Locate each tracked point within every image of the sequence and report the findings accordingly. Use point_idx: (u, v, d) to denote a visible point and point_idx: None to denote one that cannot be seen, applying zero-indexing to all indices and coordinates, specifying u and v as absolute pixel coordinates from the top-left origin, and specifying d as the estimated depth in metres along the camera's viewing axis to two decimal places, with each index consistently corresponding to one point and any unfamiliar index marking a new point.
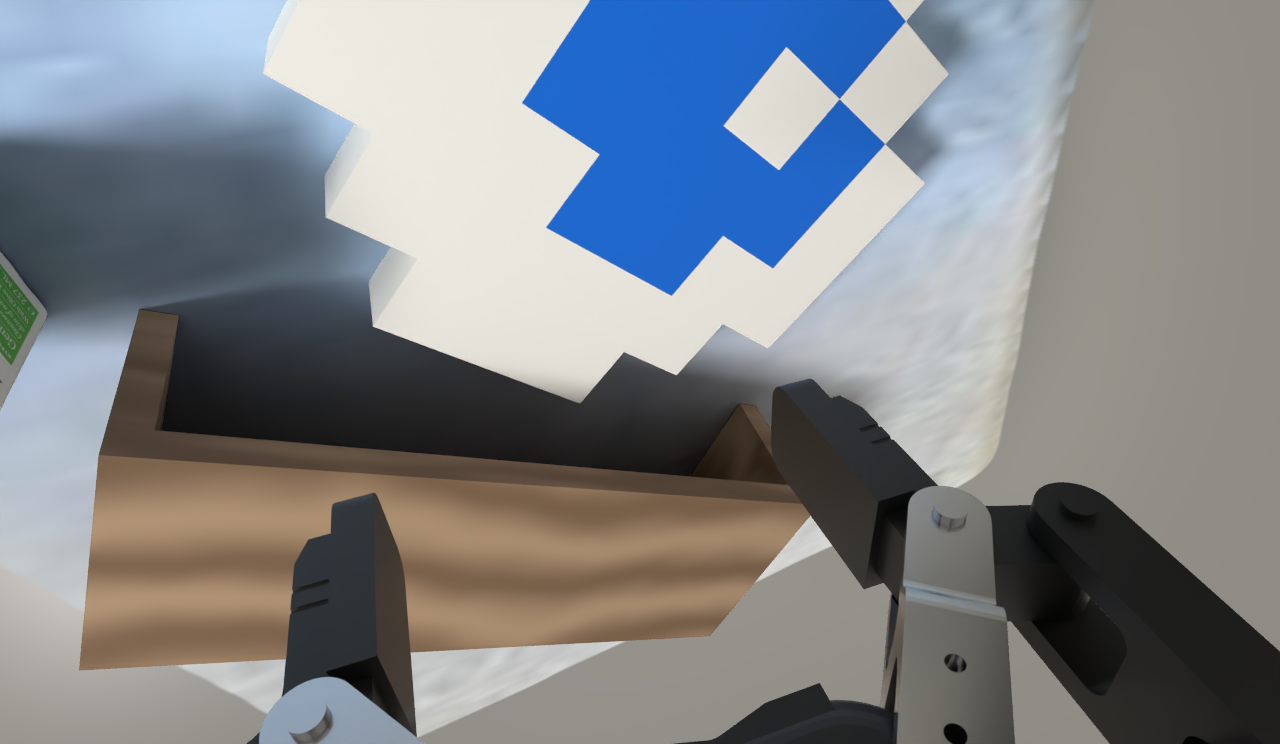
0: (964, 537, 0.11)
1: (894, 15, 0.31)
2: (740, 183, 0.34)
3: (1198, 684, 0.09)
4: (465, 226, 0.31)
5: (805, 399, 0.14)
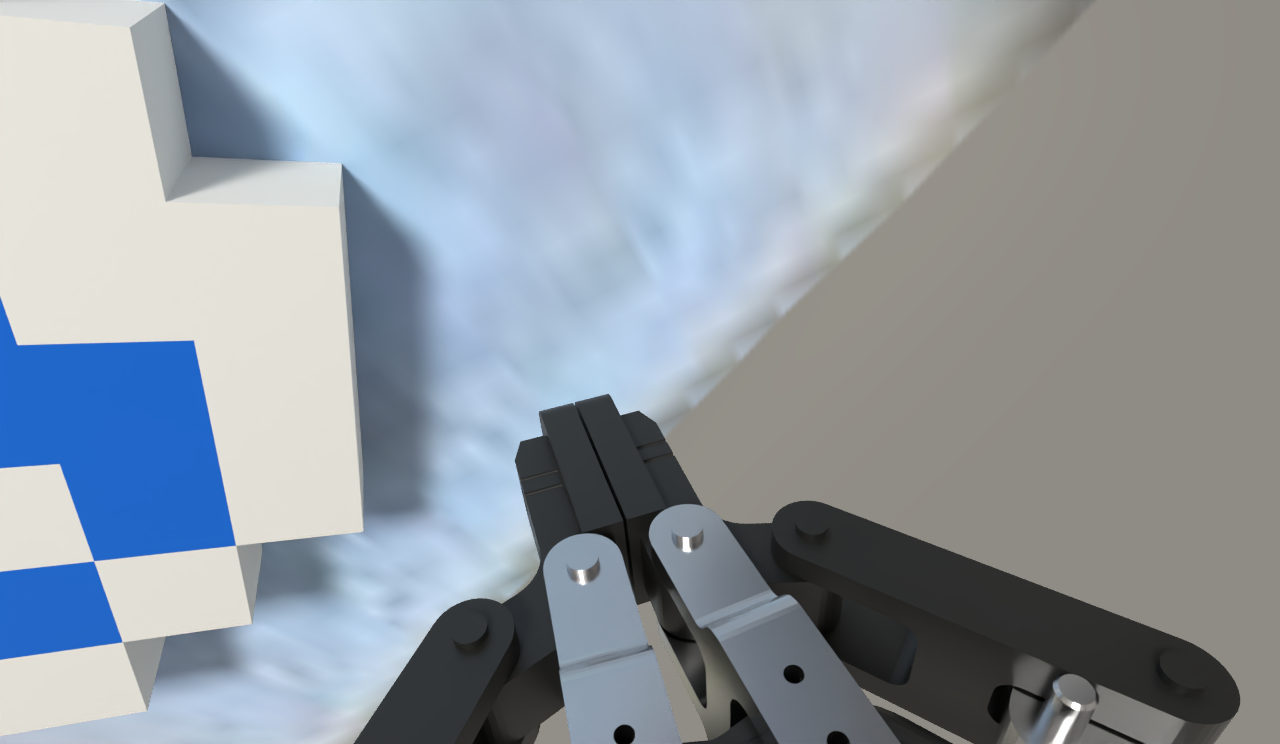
0: (692, 557, 0.11)
1: (226, 531, 0.24)
2: None
3: (991, 643, 0.10)
4: None
5: (594, 415, 0.14)
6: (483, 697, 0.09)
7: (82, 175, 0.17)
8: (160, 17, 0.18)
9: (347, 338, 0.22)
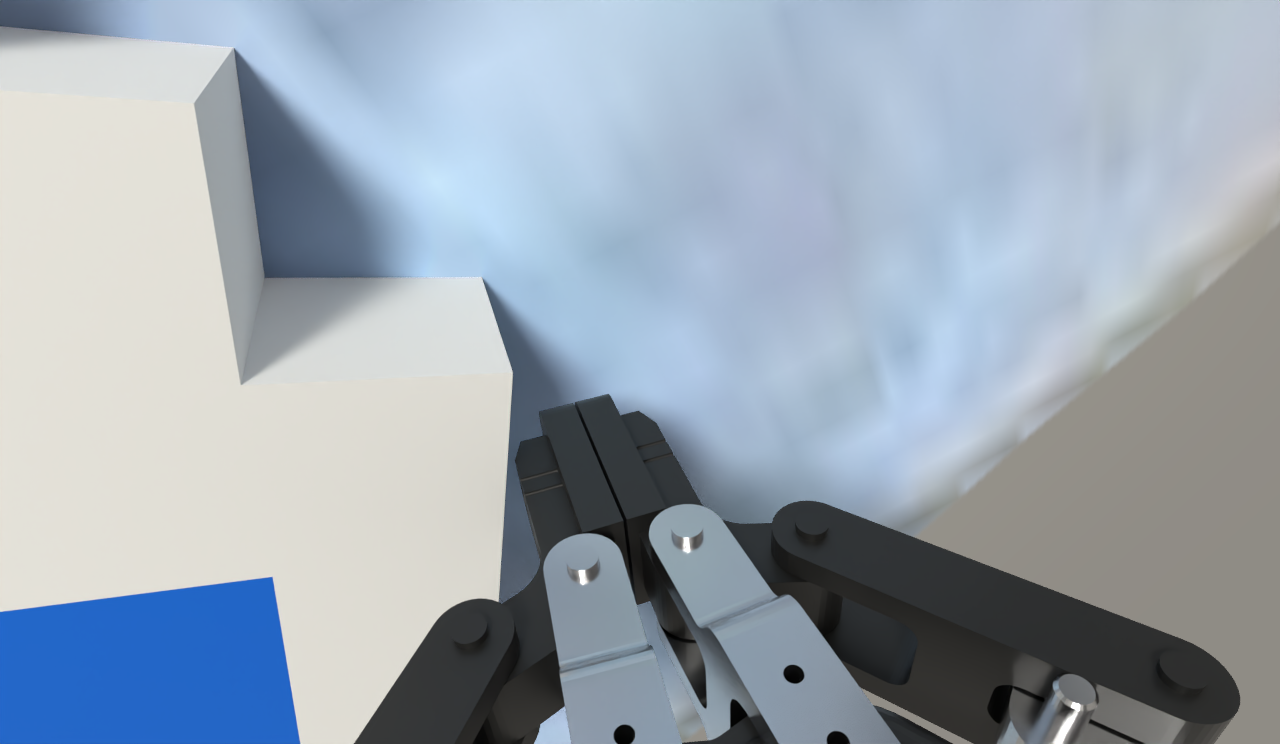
0: (692, 556, 0.11)
1: None
2: None
3: (991, 643, 0.10)
4: None
5: (594, 415, 0.14)
6: (483, 697, 0.09)
7: (100, 354, 0.10)
8: (229, 72, 0.11)
9: (499, 549, 0.14)
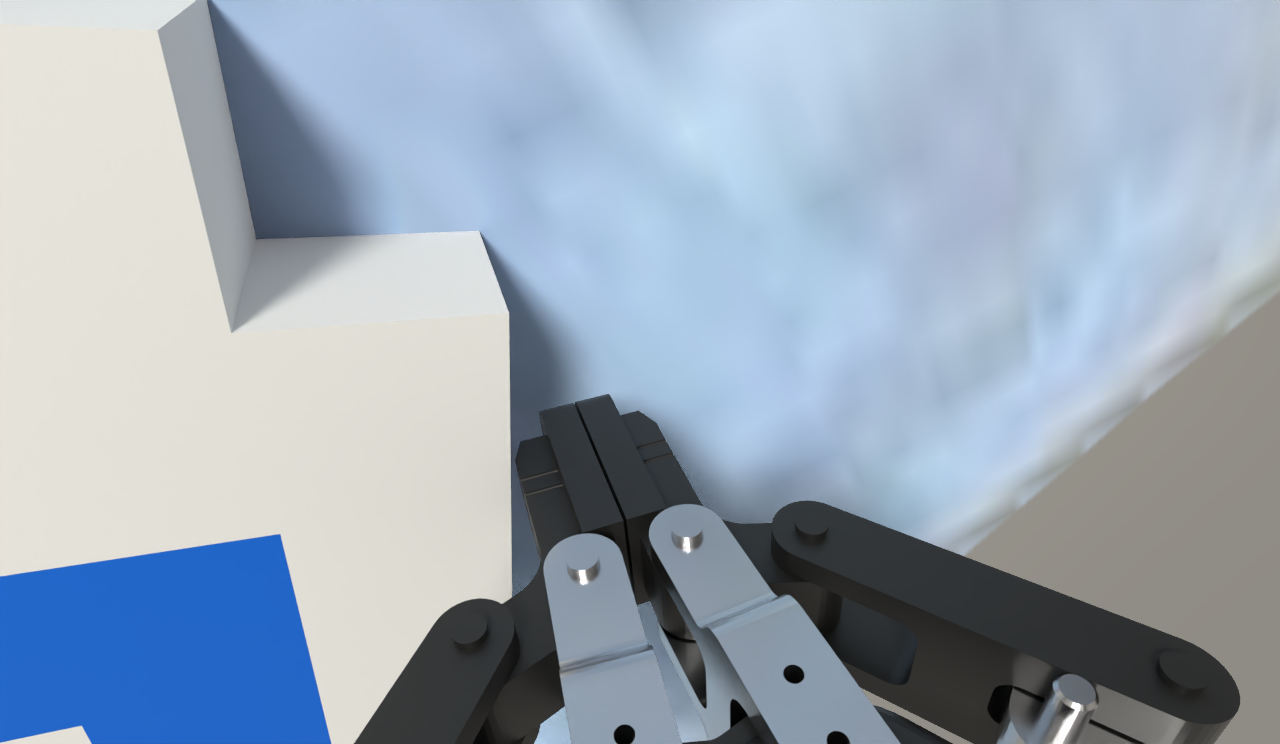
0: (692, 556, 0.11)
1: None
2: None
3: (990, 643, 0.10)
4: None
5: (594, 415, 0.14)
6: (483, 697, 0.09)
7: (85, 303, 0.10)
8: (203, 15, 0.11)
9: (509, 501, 0.14)
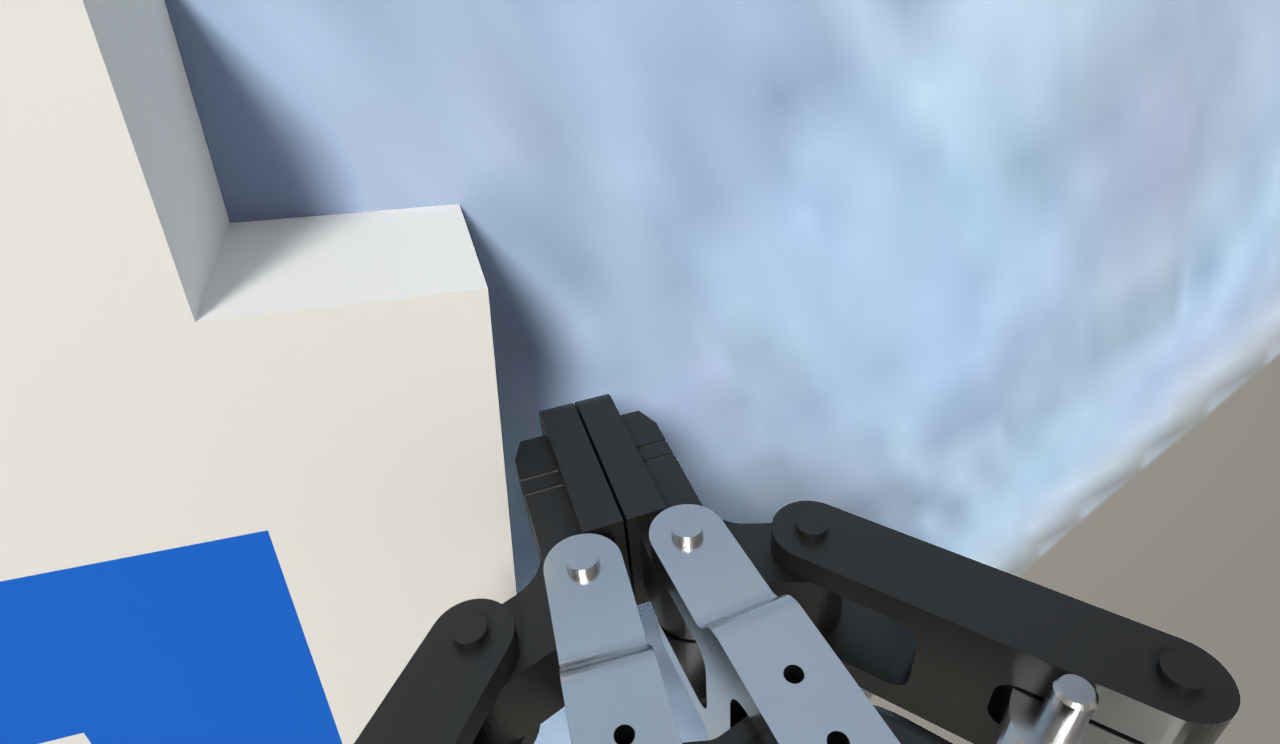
0: (692, 557, 0.11)
1: None
2: None
3: (991, 643, 0.10)
4: None
5: (594, 415, 0.14)
6: (483, 697, 0.09)
7: (39, 297, 0.09)
8: None
9: (504, 487, 0.13)
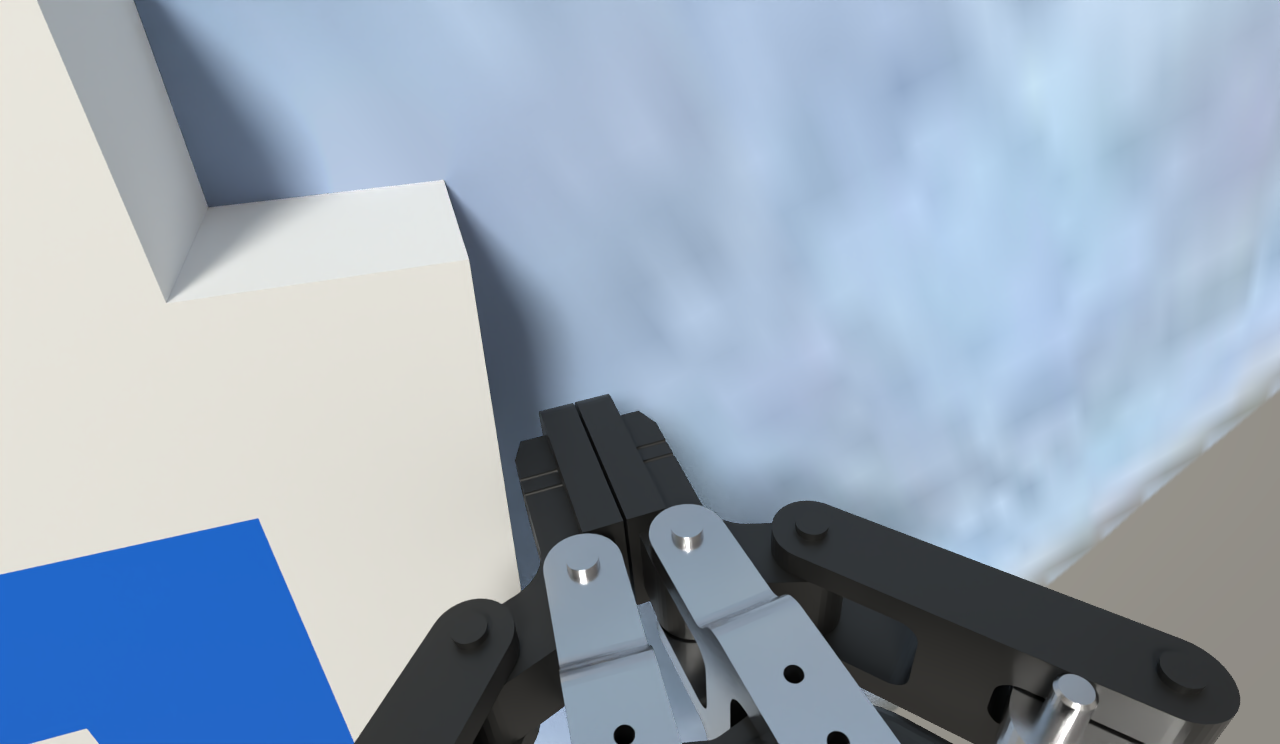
0: (692, 557, 0.11)
1: None
2: None
3: (990, 643, 0.10)
4: None
5: (594, 415, 0.14)
6: (484, 698, 0.09)
7: (2, 281, 0.09)
8: None
9: (499, 468, 0.13)
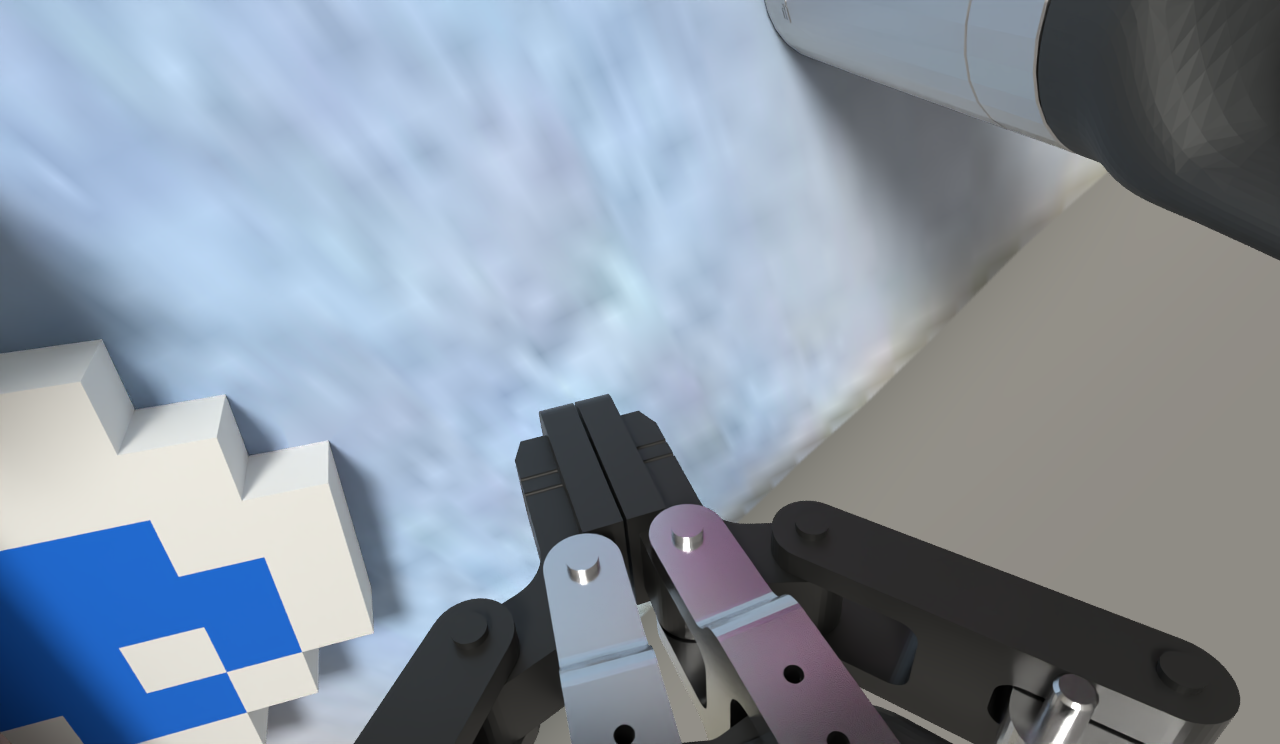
0: (692, 556, 0.11)
1: (295, 645, 0.42)
2: (106, 688, 0.39)
3: (991, 643, 0.10)
4: None
5: (595, 415, 0.14)
6: (483, 697, 0.09)
7: (201, 499, 0.35)
8: (225, 405, 0.36)
9: (344, 539, 0.39)
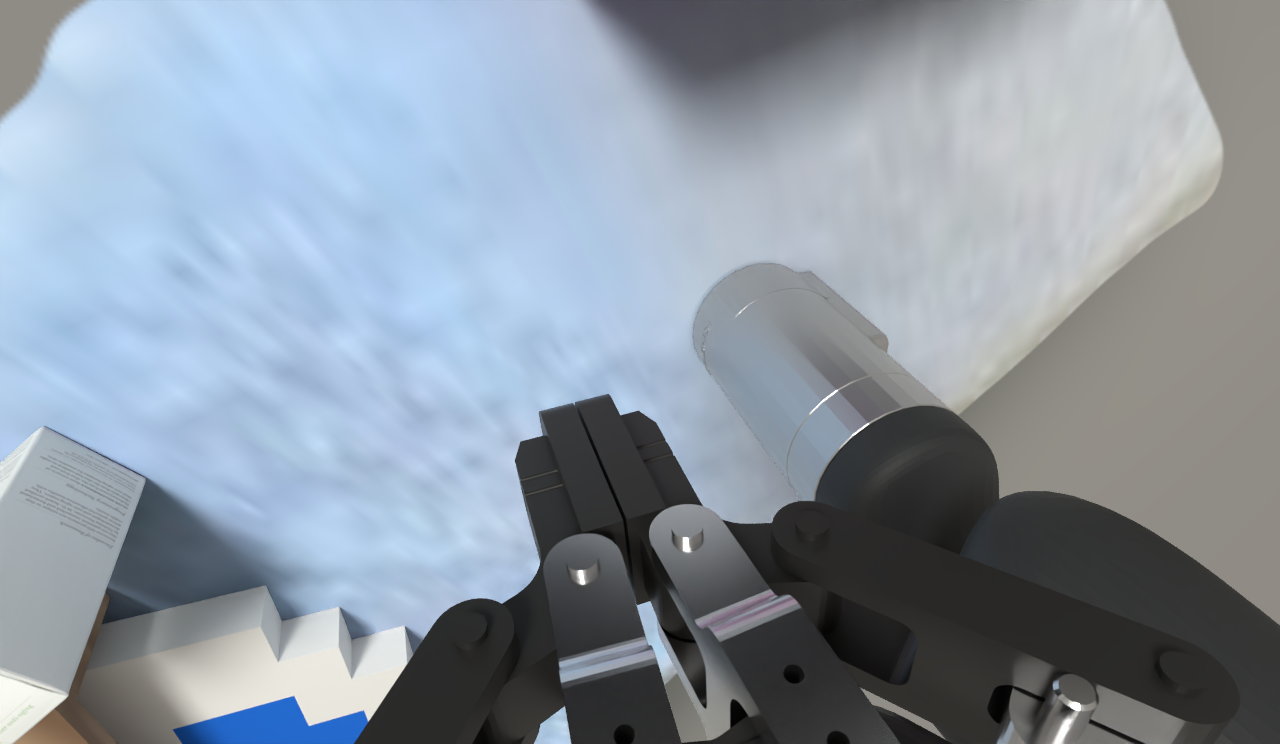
0: (692, 556, 0.11)
1: None
2: None
3: (991, 643, 0.10)
4: None
5: (594, 415, 0.14)
6: (483, 698, 0.09)
7: (326, 681, 0.53)
8: (339, 615, 0.54)
9: None
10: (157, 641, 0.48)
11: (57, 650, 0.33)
